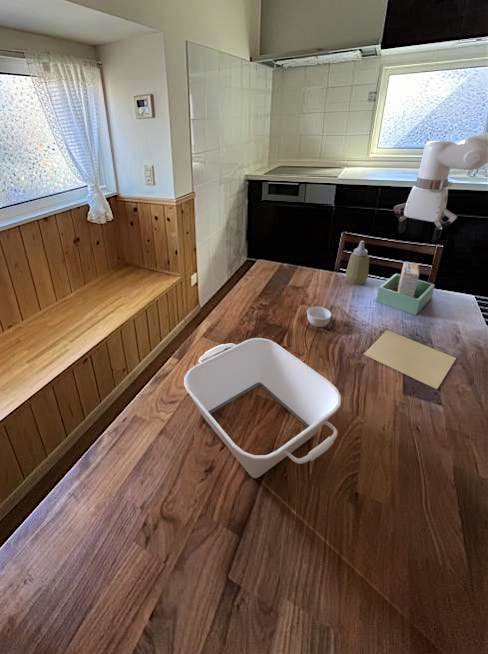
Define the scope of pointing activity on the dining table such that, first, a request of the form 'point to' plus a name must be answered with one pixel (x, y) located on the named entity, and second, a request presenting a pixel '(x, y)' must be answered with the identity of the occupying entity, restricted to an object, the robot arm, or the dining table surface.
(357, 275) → the squeeze bottle
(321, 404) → the tub
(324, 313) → the teacup
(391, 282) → the box
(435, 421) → the dining table surface
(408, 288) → the supplement box
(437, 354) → the mat
